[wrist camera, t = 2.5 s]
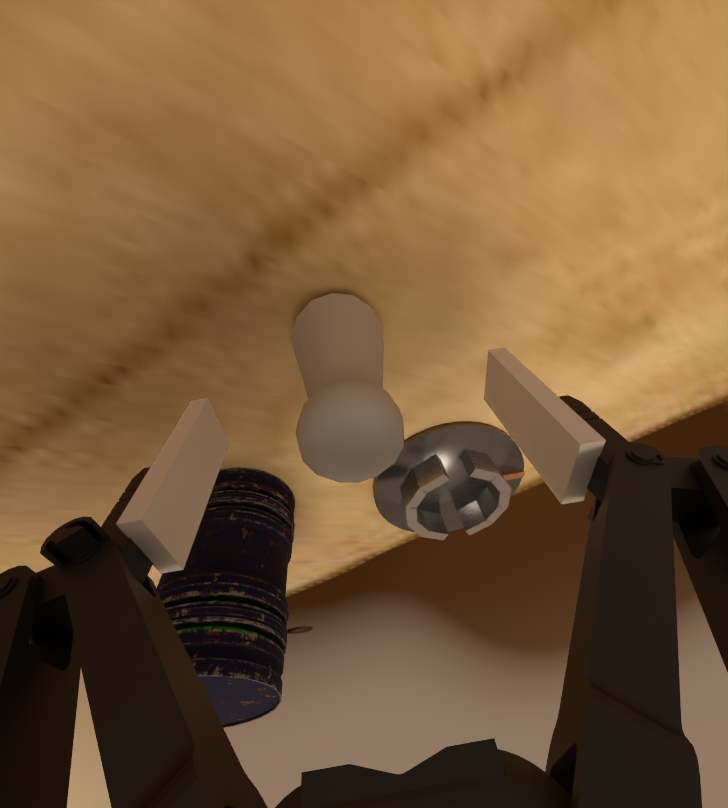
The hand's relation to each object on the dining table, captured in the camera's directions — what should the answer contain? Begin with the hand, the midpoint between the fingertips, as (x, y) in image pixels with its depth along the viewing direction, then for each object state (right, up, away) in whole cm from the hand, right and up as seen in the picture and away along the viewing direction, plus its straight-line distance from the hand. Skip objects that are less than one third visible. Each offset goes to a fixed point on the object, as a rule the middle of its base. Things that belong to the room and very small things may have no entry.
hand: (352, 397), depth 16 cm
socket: (+9, -8, +18) cm, 21 cm away
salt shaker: (-1, +5, +7) cm, 9 cm away
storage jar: (-11, -10, +16) cm, 22 cm away
